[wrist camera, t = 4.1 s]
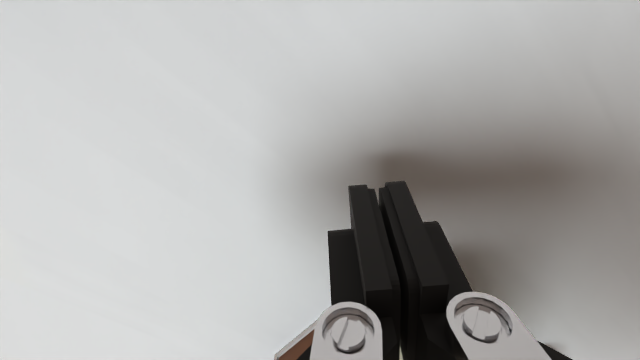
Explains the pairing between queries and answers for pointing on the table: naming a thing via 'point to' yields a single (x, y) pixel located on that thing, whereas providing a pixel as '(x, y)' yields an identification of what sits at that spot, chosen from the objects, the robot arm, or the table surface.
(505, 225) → the table surface
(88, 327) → the table surface
